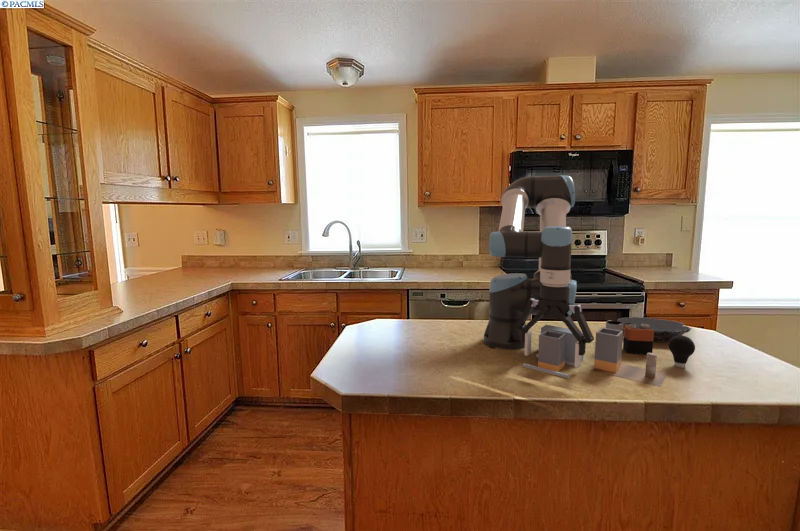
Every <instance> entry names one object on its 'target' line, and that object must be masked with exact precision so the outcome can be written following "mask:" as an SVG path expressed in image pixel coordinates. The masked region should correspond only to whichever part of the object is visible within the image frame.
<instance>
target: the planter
mask: <svg viewBox="0 0 800 531" xmlns="http://www.w3.org/2000/svg"><path fill="white" fill-rule="evenodd" d="M605 328H607V329H613V330H619V331H623V332H624V328H623V323H622V322H620V321H617V320H612V319H611V320H606V322H605Z"/></svg>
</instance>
